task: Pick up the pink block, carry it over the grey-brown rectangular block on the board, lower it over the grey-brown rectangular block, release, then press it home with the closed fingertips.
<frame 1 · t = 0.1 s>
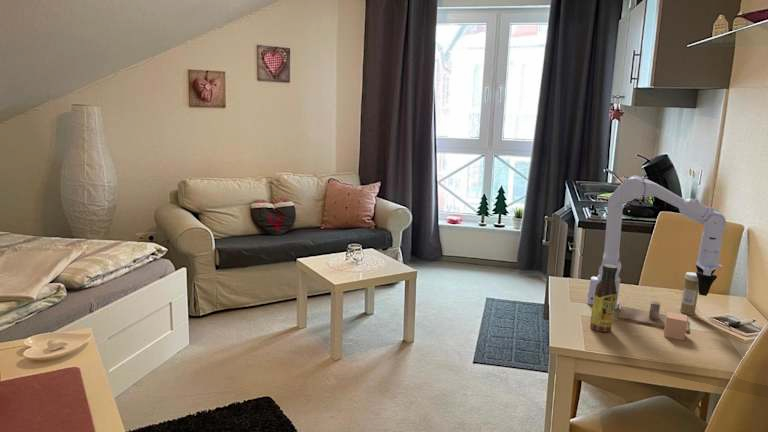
hand: (702, 291, 186), 10 cm above the table, fingers open, 7 cm apart
sprinkles bottle: (687, 313, 196), on the table
pink block: (673, 335, 177), on the table
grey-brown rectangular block: (653, 320, 188), on the table
sauce bottle: (600, 329, 179), on the table
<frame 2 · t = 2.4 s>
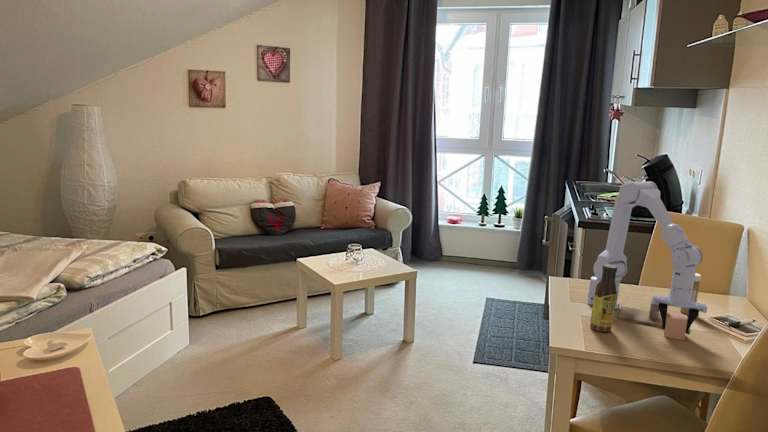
hand: (674, 330, 176), 2 cm above the table, fingers closed on pink block, 5 cm apart
pink block: (673, 335, 176), on the table, touching gripper
everything else where it was.
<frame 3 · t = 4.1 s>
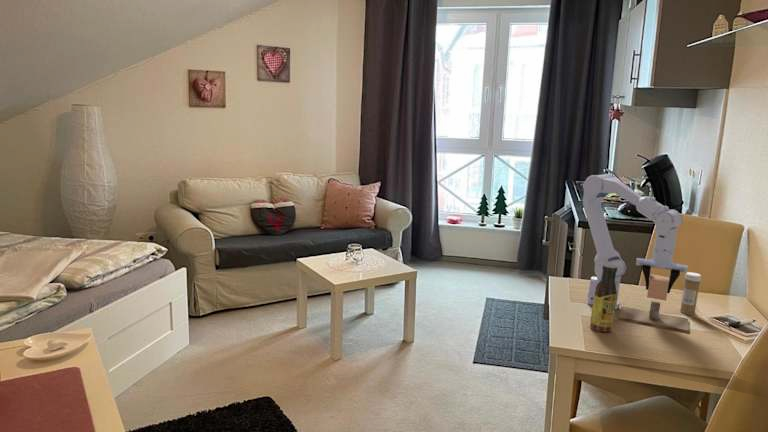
hand: (657, 290, 186), 10 cm above the table, fingers closed on pink block, 5 cm apart
pink block: (656, 296, 186), point 8 cm above the table, touching gripper
everything else where it was.
when the fingers open (4 cm above the table, at t = 6.2 s): pink block stays where it is, resting on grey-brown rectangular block.
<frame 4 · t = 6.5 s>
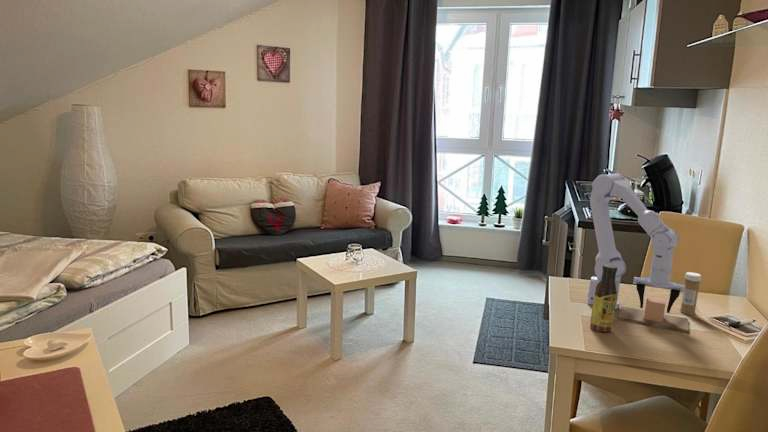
hand: (654, 309, 187), 4 cm above the table, fingers open, 7 cm apart
pink block: (653, 317, 188), point 1 cm above the table, touching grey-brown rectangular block
everything else where it was.
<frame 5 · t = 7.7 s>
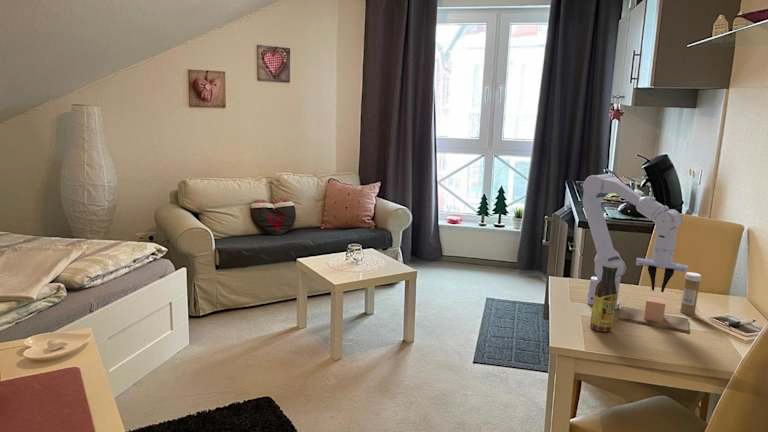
hand: (657, 290, 186), 10 cm above the table, fingers closed
nothing on the table moved.
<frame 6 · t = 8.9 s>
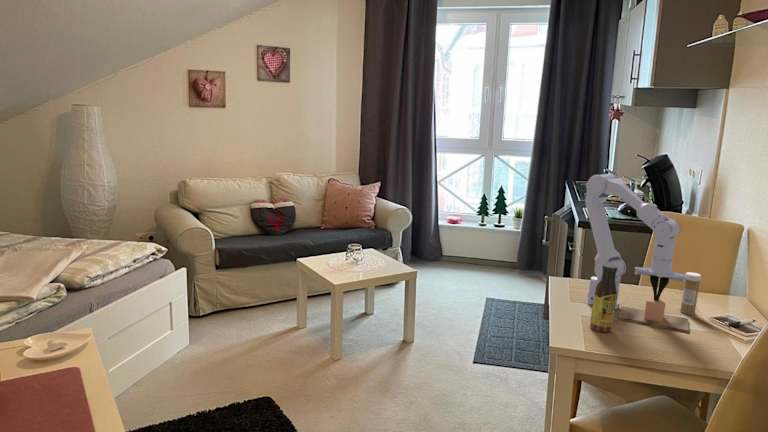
hand: (656, 299, 186), 7 cm above the table, fingers closed
nothing on the table moved.
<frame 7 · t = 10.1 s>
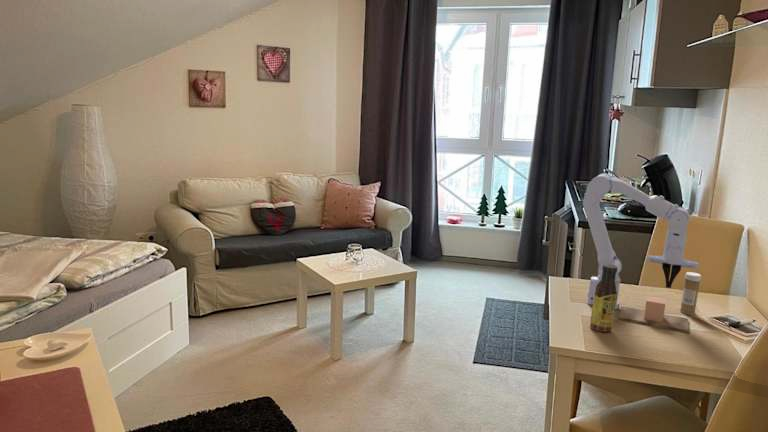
hand: (668, 286, 190), 10 cm above the table, fingers closed
nothing on the table moved.
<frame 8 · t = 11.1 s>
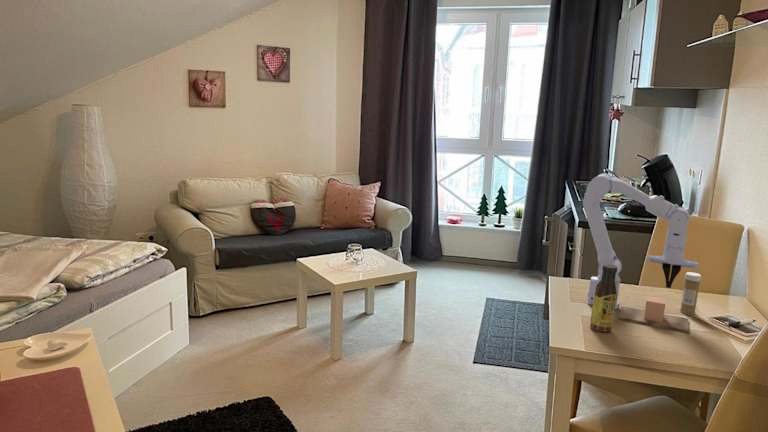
hand: (668, 286, 190), 10 cm above the table, fingers closed
nothing on the table moved.
at the end: pink block 0.1 cm from the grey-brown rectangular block (horizontally); pink block point 0.8 cm above the table; the gripper is holding nothing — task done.
